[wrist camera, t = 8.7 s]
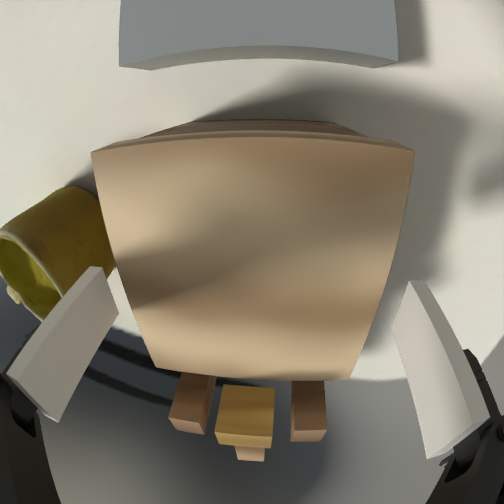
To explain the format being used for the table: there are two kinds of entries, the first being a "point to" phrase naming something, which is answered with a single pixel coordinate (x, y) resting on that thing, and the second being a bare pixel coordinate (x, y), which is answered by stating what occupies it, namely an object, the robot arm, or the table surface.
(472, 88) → the table surface
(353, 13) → the block
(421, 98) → the table surface
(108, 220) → the lid
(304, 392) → the toolbox
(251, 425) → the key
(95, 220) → the mug
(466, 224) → the table surface
